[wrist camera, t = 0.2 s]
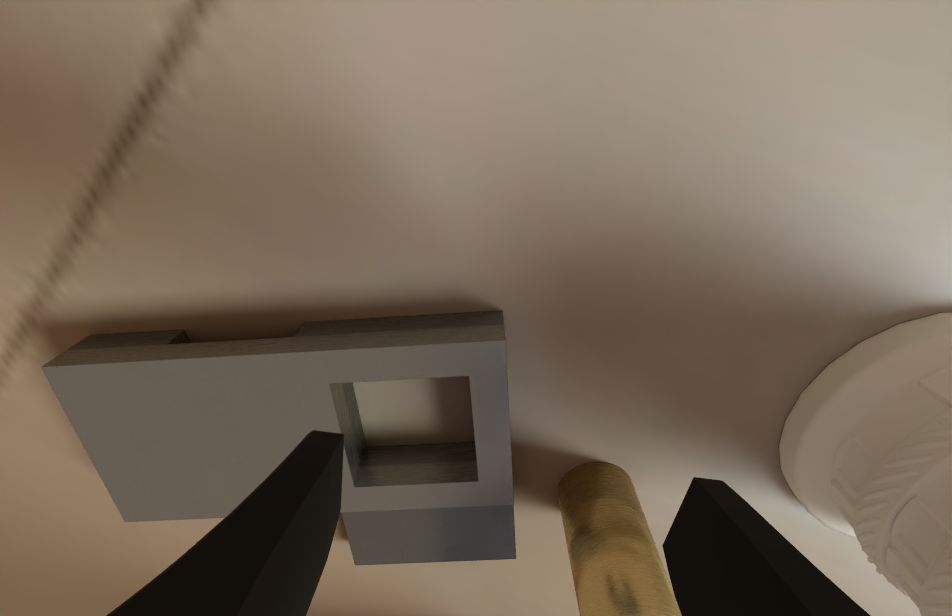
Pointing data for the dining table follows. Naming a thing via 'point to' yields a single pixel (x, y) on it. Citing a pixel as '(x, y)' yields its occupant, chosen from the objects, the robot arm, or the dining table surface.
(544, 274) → the dining table surface
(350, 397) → the lower link
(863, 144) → the dining table surface
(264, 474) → the upper link
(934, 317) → the decorative container
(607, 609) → the pin
